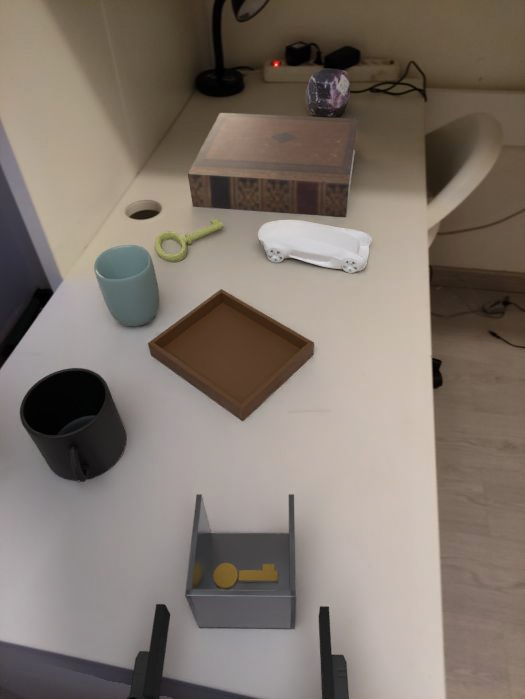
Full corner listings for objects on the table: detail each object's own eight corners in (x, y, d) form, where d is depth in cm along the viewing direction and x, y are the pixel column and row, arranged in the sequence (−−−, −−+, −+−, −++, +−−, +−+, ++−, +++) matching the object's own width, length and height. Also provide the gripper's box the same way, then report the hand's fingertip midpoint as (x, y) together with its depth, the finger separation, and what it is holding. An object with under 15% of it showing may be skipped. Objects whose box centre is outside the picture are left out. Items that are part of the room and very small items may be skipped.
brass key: (212, 589, 52) (212, 587, 51) (214, 564, 53) (214, 562, 53) (277, 590, 52) (277, 588, 51) (277, 565, 53) (277, 563, 53)
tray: (150, 355, 74) (147, 343, 72) (222, 301, 81) (221, 288, 79) (242, 421, 66) (241, 409, 64) (313, 355, 73) (314, 342, 71)
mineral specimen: (320, 121, 116) (313, 70, 112) (303, 122, 125) (295, 75, 121) (361, 112, 118) (355, 61, 113) (341, 113, 127) (335, 66, 123)
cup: (111, 302, 82) (93, 248, 74) (162, 294, 82) (150, 240, 75) (111, 338, 76) (92, 284, 69) (165, 329, 77) (152, 275, 70)
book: (346, 217, 94) (349, 183, 90) (192, 206, 99) (187, 173, 94) (354, 150, 111) (357, 118, 106) (222, 143, 115) (220, 112, 110)
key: (227, 231, 93) (226, 221, 91) (173, 266, 87) (171, 255, 85) (199, 216, 96) (197, 206, 95) (145, 249, 90) (142, 238, 89)
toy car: (371, 245, 89) (374, 222, 85) (364, 275, 84) (368, 252, 80) (265, 232, 92) (265, 209, 89) (253, 260, 87) (252, 237, 84)
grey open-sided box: (295, 629, 50) (296, 596, 43) (198, 628, 50) (184, 595, 44) (293, 535, 56) (293, 494, 49) (207, 534, 56) (196, 493, 50)
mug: (48, 512, 59) (17, 470, 52) (46, 425, 66) (19, 378, 60) (134, 488, 60) (115, 444, 53) (122, 406, 68) (104, 359, 61)
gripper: (36, 979, 34) (108, 621, 49) (430, 996, 33) (385, 625, 48) (-12, 1005, 29) (85, 593, 43) (458, 1027, 28) (398, 597, 42)
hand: (243, 609), depth 45 cm, fingers open, 13 cm apart
